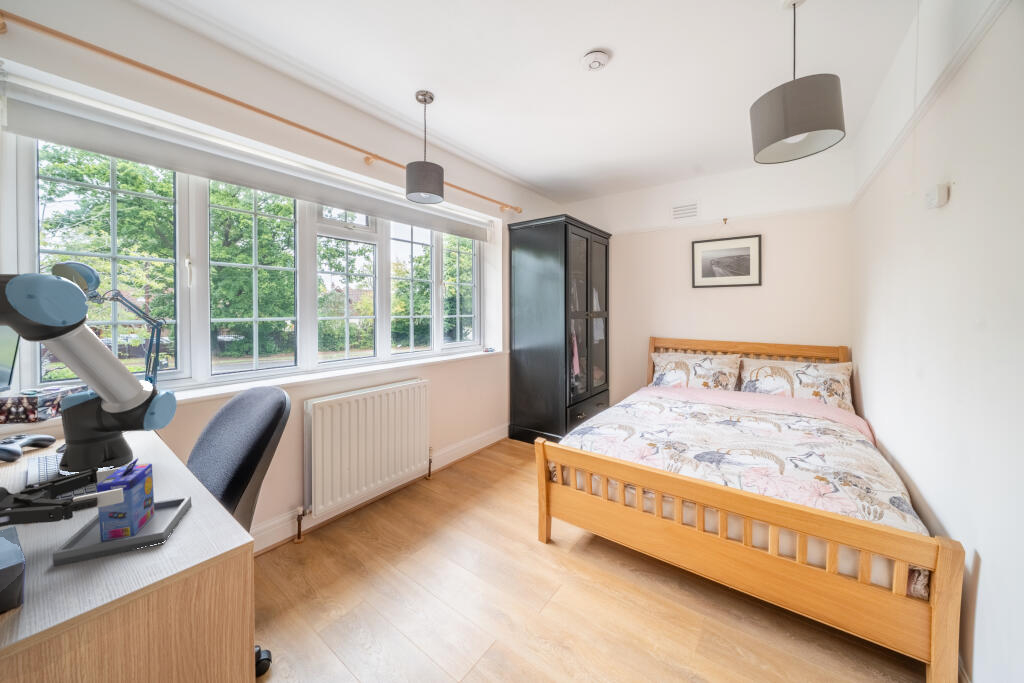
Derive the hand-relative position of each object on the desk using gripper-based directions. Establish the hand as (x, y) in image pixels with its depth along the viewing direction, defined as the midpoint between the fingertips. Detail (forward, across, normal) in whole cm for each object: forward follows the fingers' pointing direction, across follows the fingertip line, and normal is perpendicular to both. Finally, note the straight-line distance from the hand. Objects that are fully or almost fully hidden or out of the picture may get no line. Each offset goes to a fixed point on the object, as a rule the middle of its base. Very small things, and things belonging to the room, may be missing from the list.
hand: (131, 481), depth 80 cm
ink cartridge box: (-1, 0, -10) cm, 10 cm away
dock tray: (-1, 0, -11) cm, 11 cm away
